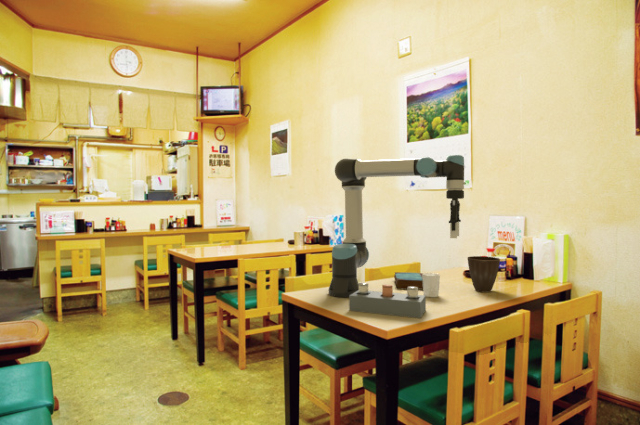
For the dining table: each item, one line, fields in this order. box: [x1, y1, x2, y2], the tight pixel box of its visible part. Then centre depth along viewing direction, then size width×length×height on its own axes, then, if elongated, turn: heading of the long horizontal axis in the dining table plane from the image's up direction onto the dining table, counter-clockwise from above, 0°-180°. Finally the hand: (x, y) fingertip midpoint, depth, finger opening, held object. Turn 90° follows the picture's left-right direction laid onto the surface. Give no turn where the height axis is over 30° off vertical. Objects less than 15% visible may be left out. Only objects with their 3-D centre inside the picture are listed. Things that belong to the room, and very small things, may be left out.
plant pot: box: [467, 255, 501, 293], centre depth 197 cm, size 15×15×16 cm
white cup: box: [422, 272, 441, 298], centre depth 186 cm, size 8×8×10 cm
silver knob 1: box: [358, 282, 369, 295], centre depth 164 cm, size 4×4×6 cm
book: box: [393, 271, 423, 290], centre depth 213 cm, size 23×18×5 cm
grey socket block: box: [348, 290, 427, 319], centre depth 160 cm, size 28×12×6 cm, turn 66°
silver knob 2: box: [406, 287, 419, 300], centre depth 156 cm, size 4×4×6 cm
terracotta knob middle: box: [381, 284, 394, 297], centre depth 160 cm, size 4×4×6 cm
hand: (454, 237), depth 181 cm, fingers open, 13 cm apart
